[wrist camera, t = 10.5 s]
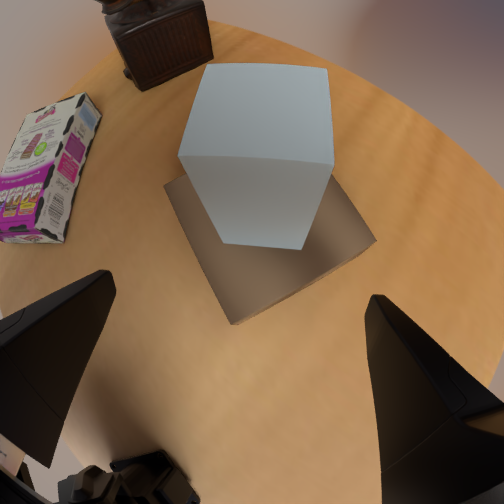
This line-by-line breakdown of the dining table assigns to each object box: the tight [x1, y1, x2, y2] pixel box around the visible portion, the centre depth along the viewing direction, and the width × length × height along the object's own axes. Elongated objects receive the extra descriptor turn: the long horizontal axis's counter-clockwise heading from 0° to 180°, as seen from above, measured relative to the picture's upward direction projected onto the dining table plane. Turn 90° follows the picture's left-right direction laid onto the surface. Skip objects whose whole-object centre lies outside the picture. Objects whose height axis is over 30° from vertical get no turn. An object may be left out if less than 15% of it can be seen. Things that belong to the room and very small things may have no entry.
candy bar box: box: [0, 92, 102, 243], centre depth 23 cm, size 11×5×16 cm
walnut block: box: [164, 173, 377, 325], centre depth 21 cm, size 11×11×4 cm
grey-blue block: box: [178, 63, 334, 250], centre depth 14 cm, size 5×5×10 cm
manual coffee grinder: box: [95, 0, 214, 91], centre depth 20 cm, size 16×11×18 cm
